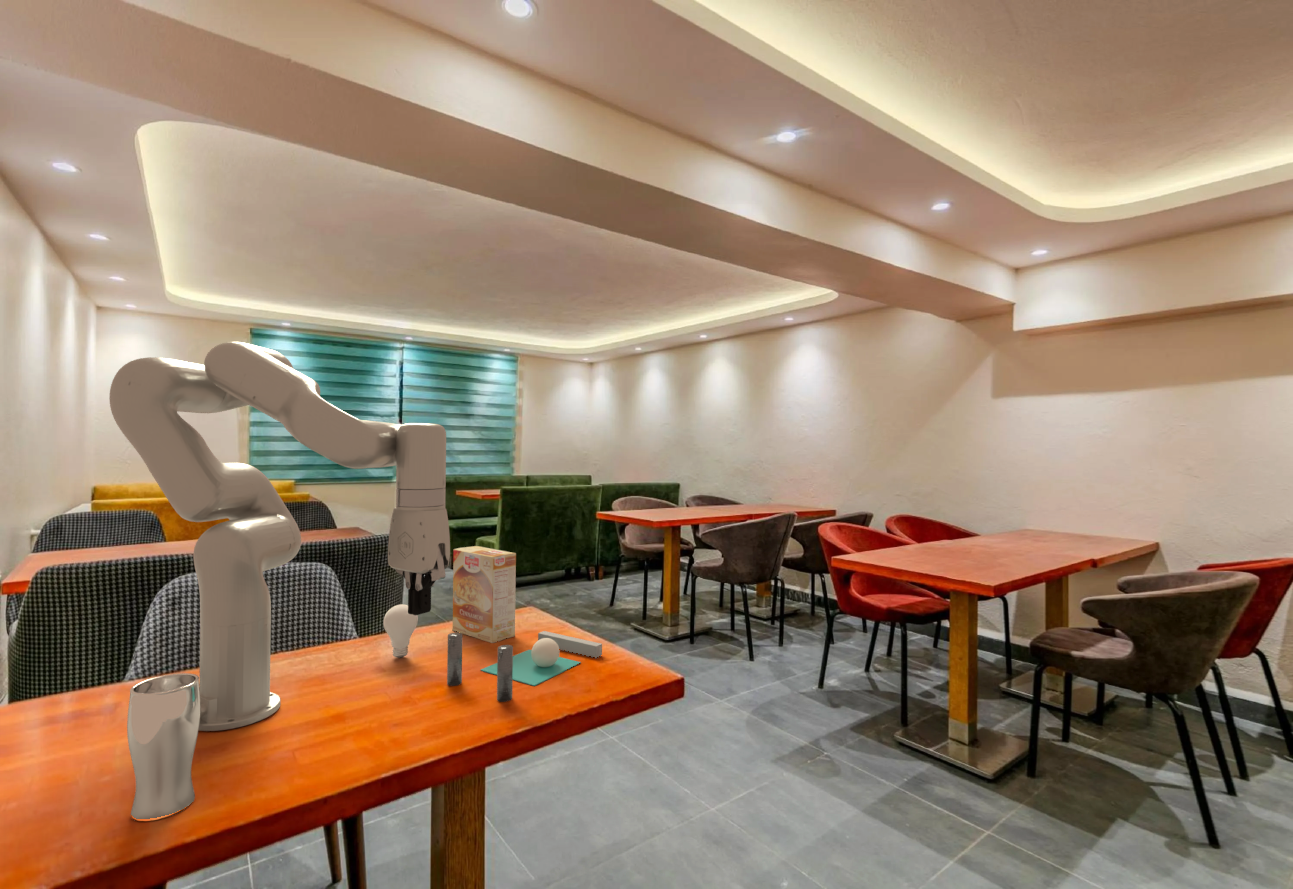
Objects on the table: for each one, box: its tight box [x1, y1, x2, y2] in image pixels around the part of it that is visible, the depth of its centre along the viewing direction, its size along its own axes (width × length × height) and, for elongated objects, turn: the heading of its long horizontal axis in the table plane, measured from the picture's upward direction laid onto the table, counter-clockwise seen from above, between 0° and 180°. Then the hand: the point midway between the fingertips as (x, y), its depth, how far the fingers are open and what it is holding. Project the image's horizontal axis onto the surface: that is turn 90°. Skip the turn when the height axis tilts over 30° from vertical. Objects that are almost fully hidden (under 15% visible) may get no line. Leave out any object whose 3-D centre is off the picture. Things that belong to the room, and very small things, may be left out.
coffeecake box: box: [451, 545, 517, 644], centre depth 141 cm, size 15×7×20 cm, turn 53°
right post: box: [496, 644, 514, 703], centre depth 105 cm, size 3×3×9 cm
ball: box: [531, 638, 561, 667], centre depth 121 cm, size 6×6×6 cm
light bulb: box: [382, 603, 419, 659], centre depth 125 cm, size 7×7×11 cm
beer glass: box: [126, 672, 201, 819], centre depth 73 cm, size 7×7×15 cm
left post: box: [446, 632, 463, 687], centre depth 112 cm, size 3×3×9 cm
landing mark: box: [480, 649, 582, 687], centre depth 120 cm, size 14×14×1 cm
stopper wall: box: [537, 630, 603, 659], centre depth 131 cm, size 2×16×2 cm, turn 59°
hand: (419, 612), depth 97 cm, fingers closed
